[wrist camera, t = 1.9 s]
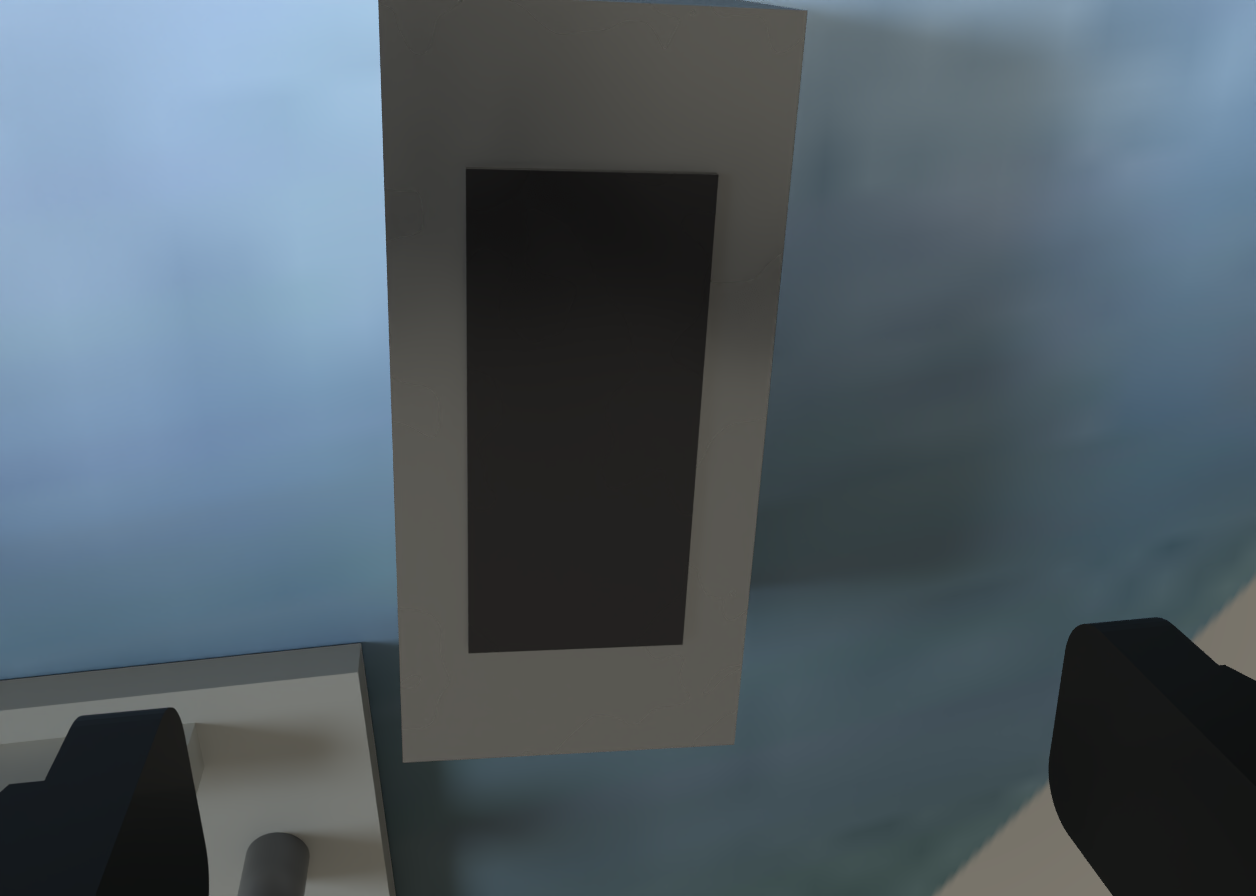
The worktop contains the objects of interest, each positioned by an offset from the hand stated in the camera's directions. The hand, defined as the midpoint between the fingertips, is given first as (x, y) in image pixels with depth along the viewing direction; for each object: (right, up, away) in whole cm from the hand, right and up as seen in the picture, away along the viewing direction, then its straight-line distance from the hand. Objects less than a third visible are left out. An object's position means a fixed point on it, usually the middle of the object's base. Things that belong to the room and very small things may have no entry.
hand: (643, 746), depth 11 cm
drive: (-2, +5, +10) cm, 11 cm away
